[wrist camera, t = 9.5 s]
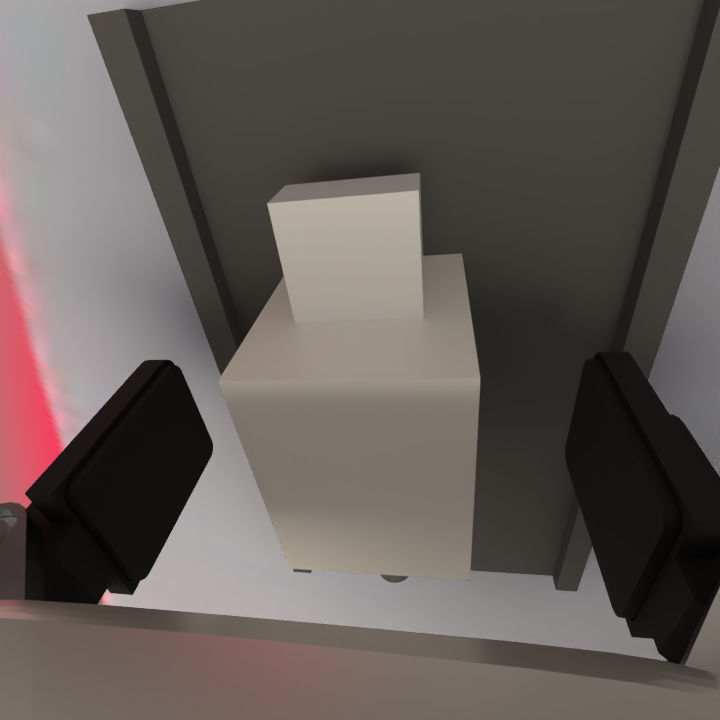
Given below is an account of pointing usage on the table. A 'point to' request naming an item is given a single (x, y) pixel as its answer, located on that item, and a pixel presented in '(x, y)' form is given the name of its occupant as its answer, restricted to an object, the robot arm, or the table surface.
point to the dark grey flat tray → (449, 186)
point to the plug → (362, 386)
